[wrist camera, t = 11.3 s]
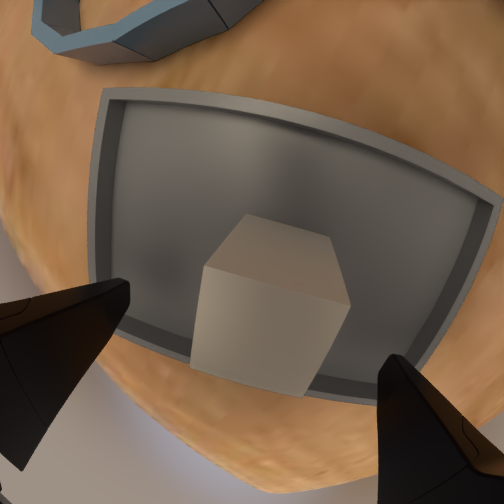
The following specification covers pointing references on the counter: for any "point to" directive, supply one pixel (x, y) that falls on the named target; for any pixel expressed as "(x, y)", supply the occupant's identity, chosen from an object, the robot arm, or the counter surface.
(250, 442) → the counter surface
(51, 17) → the blue ring
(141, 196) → the tray
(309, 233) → the beige rectangular block
